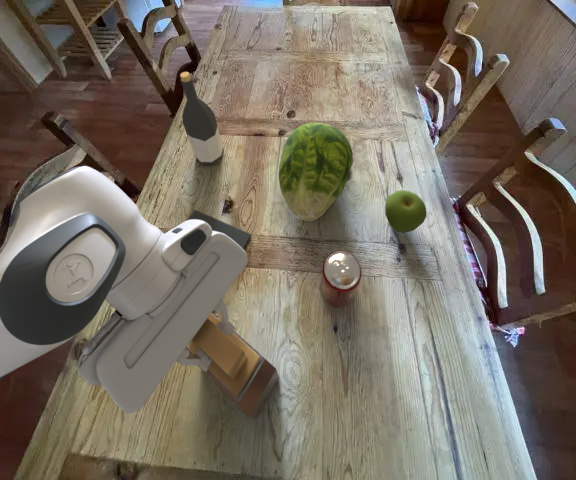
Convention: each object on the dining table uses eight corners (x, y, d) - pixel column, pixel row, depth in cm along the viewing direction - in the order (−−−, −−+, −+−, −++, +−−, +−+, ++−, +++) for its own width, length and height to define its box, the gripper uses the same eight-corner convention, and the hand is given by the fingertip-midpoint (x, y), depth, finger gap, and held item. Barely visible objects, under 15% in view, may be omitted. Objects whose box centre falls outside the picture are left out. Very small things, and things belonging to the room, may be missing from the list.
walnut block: (256, 420, 57) (248, 417, 50) (201, 366, 63) (187, 355, 55) (279, 378, 61) (276, 368, 54) (226, 330, 67) (216, 315, 59)
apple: (422, 220, 81) (435, 195, 73) (410, 250, 77) (422, 227, 68) (388, 201, 85) (397, 176, 77) (374, 229, 80) (382, 205, 72)
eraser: (239, 402, 44) (230, 395, 38) (181, 343, 49) (165, 330, 43) (264, 360, 47) (259, 349, 41) (206, 309, 52) (195, 292, 46)
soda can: (316, 302, 70) (318, 283, 61) (324, 266, 75) (327, 244, 66) (351, 314, 68) (358, 296, 60) (357, 277, 73) (364, 255, 65)
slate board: (209, 317, 68) (208, 316, 68) (146, 283, 73) (145, 281, 73) (251, 235, 80) (251, 234, 79) (194, 210, 85) (194, 208, 84)
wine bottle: (229, 148, 98) (210, 68, 77) (213, 170, 93) (188, 90, 72) (206, 139, 101) (181, 59, 80) (189, 160, 96) (158, 80, 75)
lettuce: (254, 210, 76) (325, 201, 66) (269, 120, 89) (330, 101, 79) (301, 231, 87) (368, 226, 77) (308, 148, 100) (366, 135, 90)
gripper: (68, 377, 33) (163, 458, 36) (214, 212, 45) (278, 282, 48) (65, 353, 38) (149, 426, 41) (197, 211, 50) (256, 274, 53)
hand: (219, 347), depth 44 cm, fingers closed on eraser, 3 cm apart
